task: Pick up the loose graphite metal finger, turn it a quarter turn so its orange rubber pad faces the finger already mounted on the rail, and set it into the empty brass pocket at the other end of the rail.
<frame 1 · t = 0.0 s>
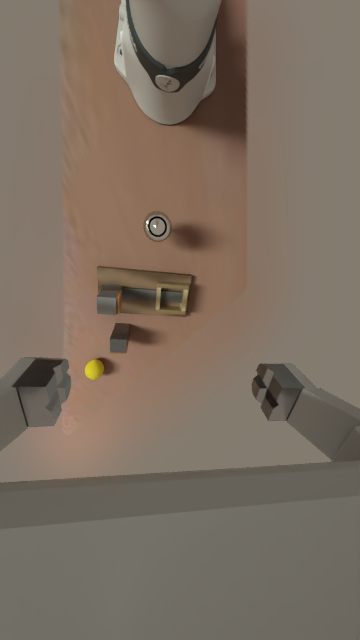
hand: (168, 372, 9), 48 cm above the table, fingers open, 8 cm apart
wineglass: (156, 225, 50), on the table
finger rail: (145, 292, 57), on the table
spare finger: (122, 329, 61), on the table
lemon: (97, 363, 65), on the table
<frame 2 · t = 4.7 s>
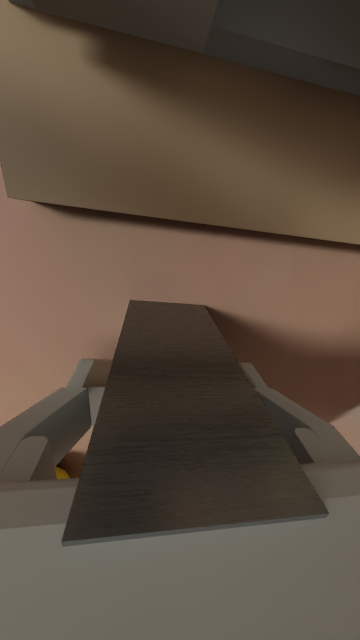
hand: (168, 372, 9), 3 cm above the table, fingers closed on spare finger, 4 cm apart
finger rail: (351, 65, 8), on the table
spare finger: (164, 335, 12), on the table, touching gripper
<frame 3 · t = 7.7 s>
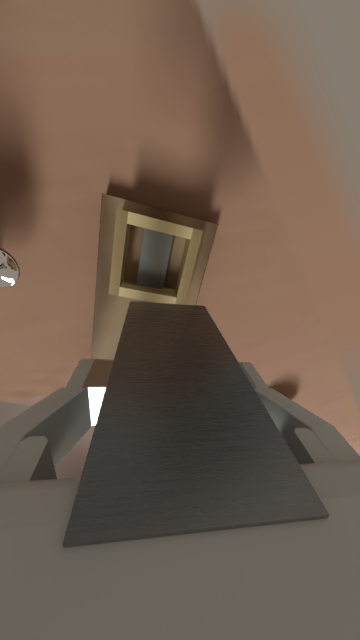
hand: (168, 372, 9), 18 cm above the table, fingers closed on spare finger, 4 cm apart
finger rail: (145, 310, 27), on the table
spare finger: (165, 335, 12), point 15 cm above the table, touching gripper
when the fingers open (7 cm above the table, at t = 10.6 s): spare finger stays where it is, resting on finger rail.
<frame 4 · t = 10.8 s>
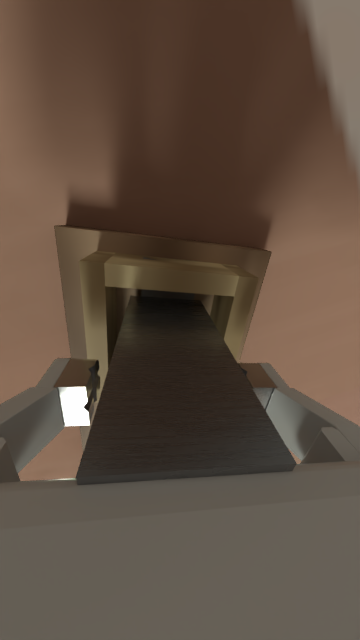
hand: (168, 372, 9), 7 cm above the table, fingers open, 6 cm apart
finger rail: (156, 386, 18), on the table
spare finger: (163, 328, 13), point 2 cm above the table, touching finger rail
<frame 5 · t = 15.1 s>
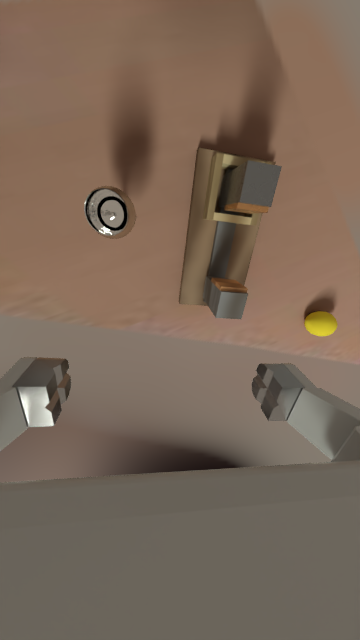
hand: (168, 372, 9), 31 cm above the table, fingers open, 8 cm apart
wineglass: (121, 215, 33), on the table
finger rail: (219, 240, 37), on the table
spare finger: (232, 193, 32), point 2 cm above the table, touching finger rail
lemon: (311, 318, 47), on the table
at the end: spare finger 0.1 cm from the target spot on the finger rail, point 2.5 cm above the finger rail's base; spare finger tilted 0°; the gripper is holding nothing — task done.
